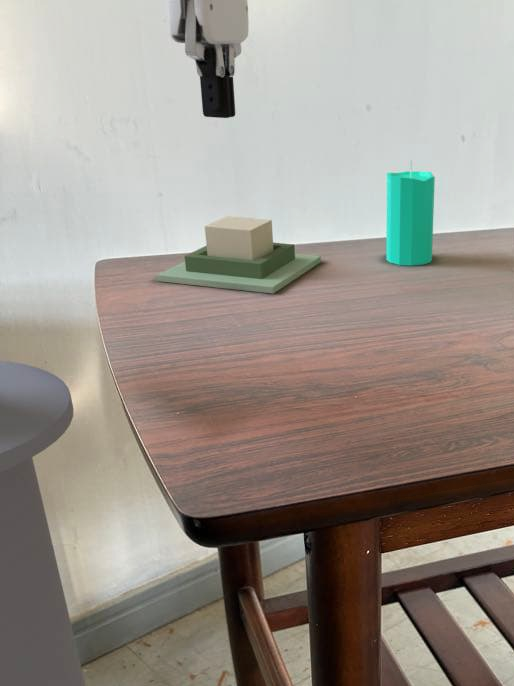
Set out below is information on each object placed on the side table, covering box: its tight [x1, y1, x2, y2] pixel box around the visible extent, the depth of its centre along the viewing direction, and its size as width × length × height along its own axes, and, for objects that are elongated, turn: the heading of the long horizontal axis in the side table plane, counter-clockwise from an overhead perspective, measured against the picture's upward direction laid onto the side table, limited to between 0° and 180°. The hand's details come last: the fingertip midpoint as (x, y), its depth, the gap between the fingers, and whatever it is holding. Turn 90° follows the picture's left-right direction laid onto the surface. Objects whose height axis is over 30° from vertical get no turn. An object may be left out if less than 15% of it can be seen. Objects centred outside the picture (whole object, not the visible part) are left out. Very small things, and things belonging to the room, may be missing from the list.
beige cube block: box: [204, 215, 274, 260], centre depth 106 cm, size 6×6×5 cm
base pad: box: [156, 242, 322, 295], centre depth 107 cm, size 15×15×3 cm
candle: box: [385, 160, 436, 266], centre depth 111 cm, size 6×6×12 cm
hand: (219, 116), depth 97 cm, fingers closed
